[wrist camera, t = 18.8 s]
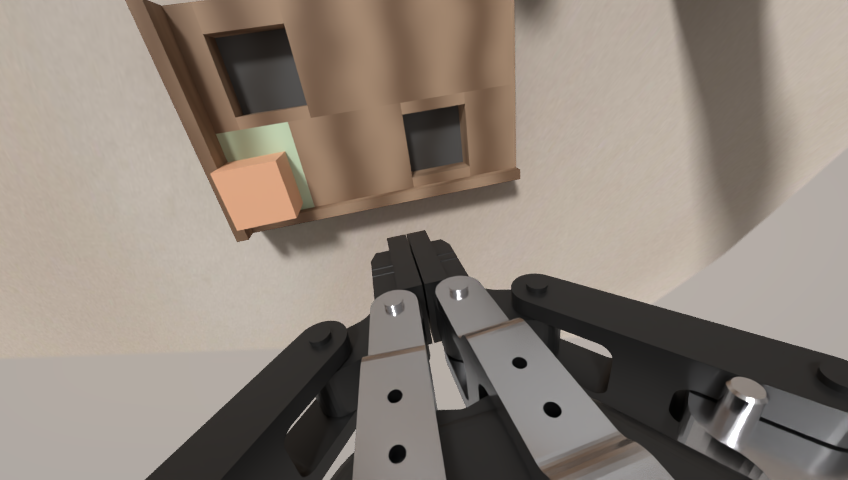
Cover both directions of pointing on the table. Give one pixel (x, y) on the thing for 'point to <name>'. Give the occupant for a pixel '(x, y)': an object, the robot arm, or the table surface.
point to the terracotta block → (258, 190)
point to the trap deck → (344, 93)
